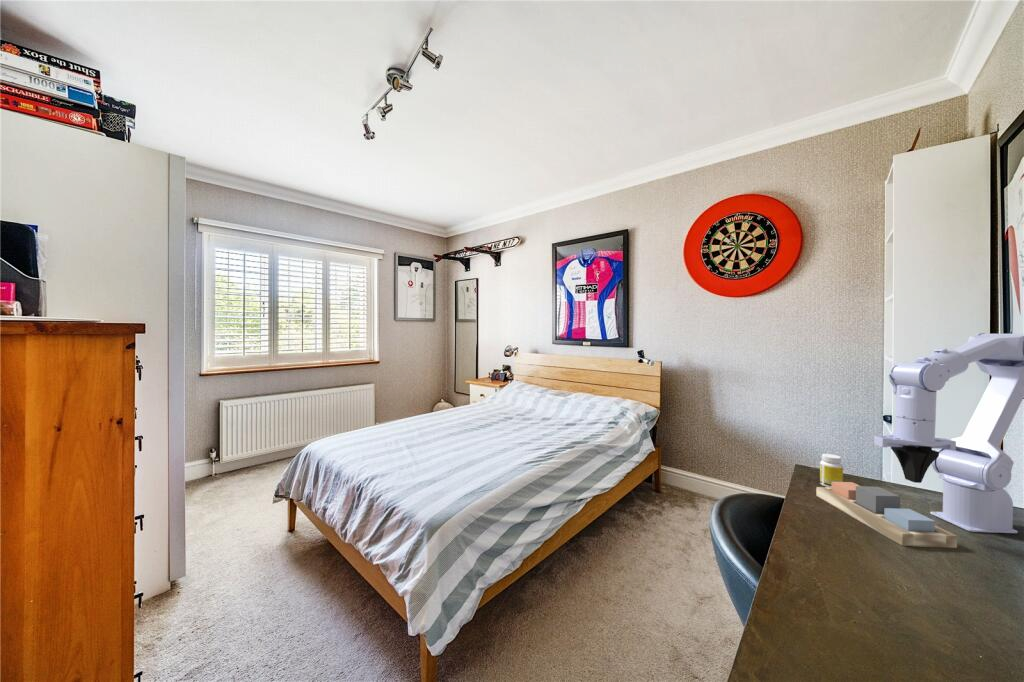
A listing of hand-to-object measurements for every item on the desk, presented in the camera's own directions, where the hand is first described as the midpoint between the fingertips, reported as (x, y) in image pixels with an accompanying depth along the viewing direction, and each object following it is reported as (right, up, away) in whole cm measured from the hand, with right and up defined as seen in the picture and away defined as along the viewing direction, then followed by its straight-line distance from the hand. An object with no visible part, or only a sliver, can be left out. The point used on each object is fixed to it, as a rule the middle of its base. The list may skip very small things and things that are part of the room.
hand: (913, 480), depth 77 cm
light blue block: (-4, -10, -2) cm, 11 cm away
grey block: (-3, -8, +4) cm, 10 cm away
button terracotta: (-3, -10, +11) cm, 15 cm away
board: (-3, -10, +4) cm, 12 cm away
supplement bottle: (+2, -10, +22) cm, 24 cm away
